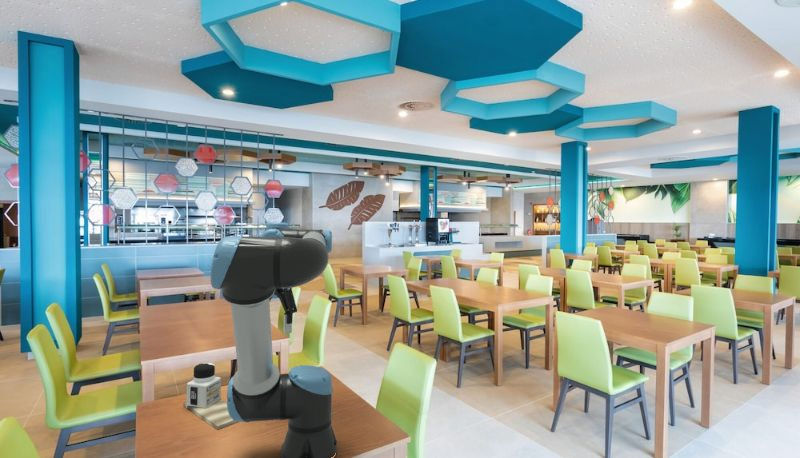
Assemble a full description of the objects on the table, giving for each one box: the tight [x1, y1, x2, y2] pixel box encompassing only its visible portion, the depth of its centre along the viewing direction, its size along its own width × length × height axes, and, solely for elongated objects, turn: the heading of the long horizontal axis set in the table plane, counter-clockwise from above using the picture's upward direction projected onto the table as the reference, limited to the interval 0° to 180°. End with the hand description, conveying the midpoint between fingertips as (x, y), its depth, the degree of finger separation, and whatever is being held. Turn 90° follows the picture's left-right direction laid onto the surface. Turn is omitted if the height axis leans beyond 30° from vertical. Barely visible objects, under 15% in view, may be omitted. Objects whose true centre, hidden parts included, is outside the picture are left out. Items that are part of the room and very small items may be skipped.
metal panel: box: [182, 398, 238, 431], centre depth 137 cm, size 24×10×1 cm, turn 50°
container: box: [186, 362, 222, 408], centre depth 141 cm, size 8×8×13 cm
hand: (275, 329), depth 142 cm, fingers open, 13 cm apart
